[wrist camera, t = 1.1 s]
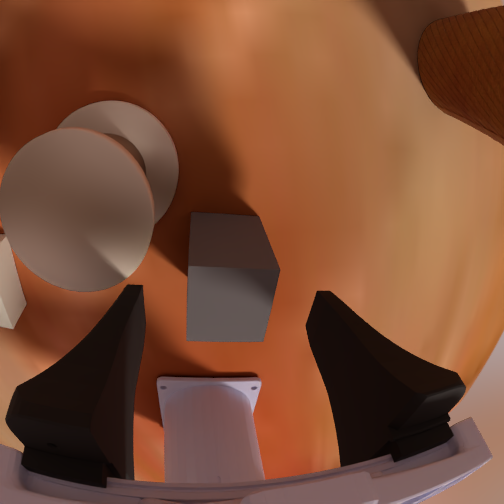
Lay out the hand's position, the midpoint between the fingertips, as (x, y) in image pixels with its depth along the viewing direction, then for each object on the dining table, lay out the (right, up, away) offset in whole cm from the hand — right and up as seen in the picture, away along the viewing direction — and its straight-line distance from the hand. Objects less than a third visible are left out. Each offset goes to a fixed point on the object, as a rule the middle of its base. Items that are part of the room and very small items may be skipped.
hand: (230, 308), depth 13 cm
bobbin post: (-6, +6, +1) cm, 9 cm away
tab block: (-1, +2, +4) cm, 5 cm away
